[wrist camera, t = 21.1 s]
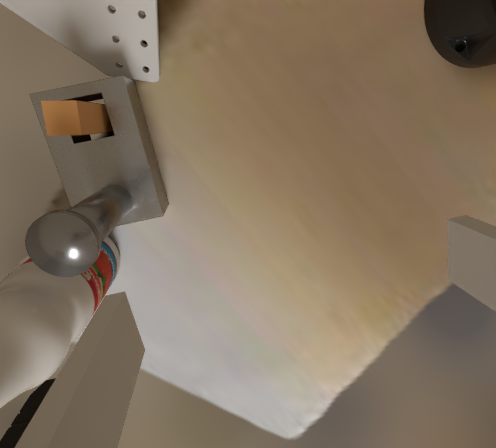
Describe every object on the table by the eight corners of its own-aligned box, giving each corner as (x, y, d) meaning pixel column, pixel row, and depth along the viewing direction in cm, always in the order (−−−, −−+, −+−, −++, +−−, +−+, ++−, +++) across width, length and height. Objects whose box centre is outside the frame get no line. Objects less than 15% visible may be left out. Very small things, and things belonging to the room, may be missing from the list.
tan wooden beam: (114, 105, 43) (76, 100, 31) (118, 130, 44) (81, 135, 31) (90, 106, 43) (40, 100, 30) (93, 131, 44) (47, 135, 31)
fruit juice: (36, 249, 47) (-189, 418, 21) (91, 212, 46) (-68, 338, 20) (82, 299, 50) (-63, 504, 23) (135, 265, 49) (47, 436, 23)
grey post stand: (134, 81, 42) (67, 47, 22) (168, 204, 47) (138, 266, 27) (54, 97, 42) (-89, 77, 22) (96, 219, 47) (12, 294, 27)
